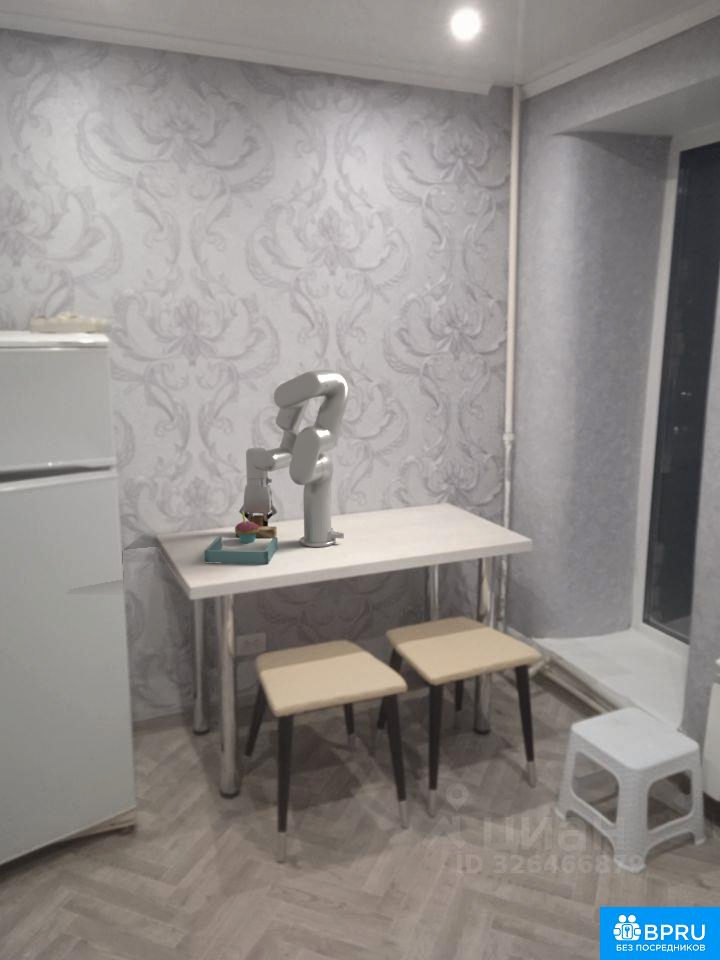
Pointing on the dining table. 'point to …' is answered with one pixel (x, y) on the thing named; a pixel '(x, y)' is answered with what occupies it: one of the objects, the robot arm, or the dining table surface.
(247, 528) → the cupcake
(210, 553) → the tray
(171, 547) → the dining table surface
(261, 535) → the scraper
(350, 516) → the dining table surface
